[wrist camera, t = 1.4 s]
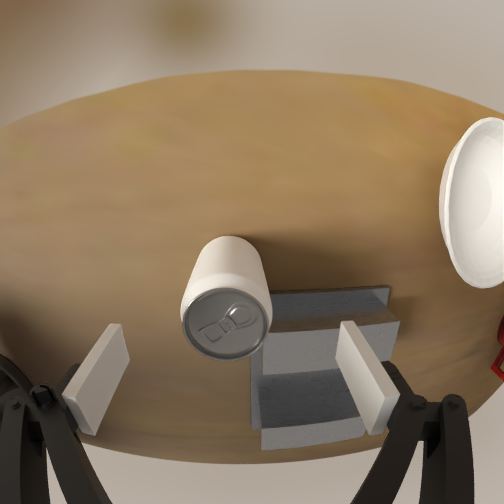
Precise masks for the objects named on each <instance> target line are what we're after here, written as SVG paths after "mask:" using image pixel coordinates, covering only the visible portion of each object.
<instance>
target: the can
mask: <svg viewBox="0 0 504 504" xmlns="http://www.w3.org/2000/svg"><path fill="white" fill-rule="evenodd" d="M181 320H182V324H183V331H184V335H185V337H186V339H187V341H188V342H189V344H190V345H191V346H192V347H193V348H194V349H195V350H196V351H197V352H199V353H200V354H202V355H203V356H205V357H208V358H210V359H213V360H218V361H236V360H241V359H244V358H246V357H248V356H250V355H252V354H253V353H255V352H256V351H257V350H258V349H259V348H260V347H261V346H262V345H263V344H264V342H265V340H266V338H267V336H268V332H269V328H270V325H271V322H272V304H271V299H270V295H269V290H268V286H267V282H266V278H265V274H264V270H263V266H262V262H261V259H260V256H259V254H258V252H257V250H256V249H255V248H254V247H253V246H252V245H251V244H250V243H249V242H247V241H246V240H244V239H242V238H240V237H236V236H222V237H219V238H216V239H214V240H212V241H210V242H209V243H208V244H207V245H206V246H205V247H204V248H203V249H202V251H201V253H200V255H199V257H198V259H197V262H196V264H195V267H194V269H193V272H192V274H191V277H190V280H189V282H188V285H187V288H186V290H185V293H184V296H183V299H182V303H181Z"/></svg>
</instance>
